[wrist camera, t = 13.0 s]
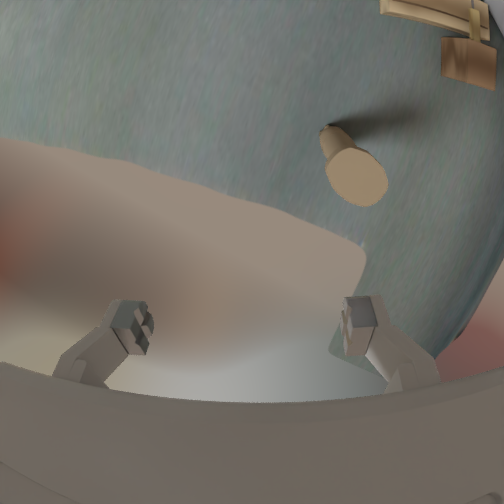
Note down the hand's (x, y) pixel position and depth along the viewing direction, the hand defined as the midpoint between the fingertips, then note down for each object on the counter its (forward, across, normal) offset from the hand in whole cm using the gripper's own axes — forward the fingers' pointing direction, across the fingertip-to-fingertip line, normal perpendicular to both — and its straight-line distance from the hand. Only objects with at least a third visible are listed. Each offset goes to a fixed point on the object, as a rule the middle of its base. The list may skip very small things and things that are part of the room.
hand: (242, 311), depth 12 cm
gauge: (+32, -28, -13) cm, 45 cm away
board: (+32, -24, -19) cm, 45 cm away
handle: (+32, -9, +2) cm, 34 cm away
